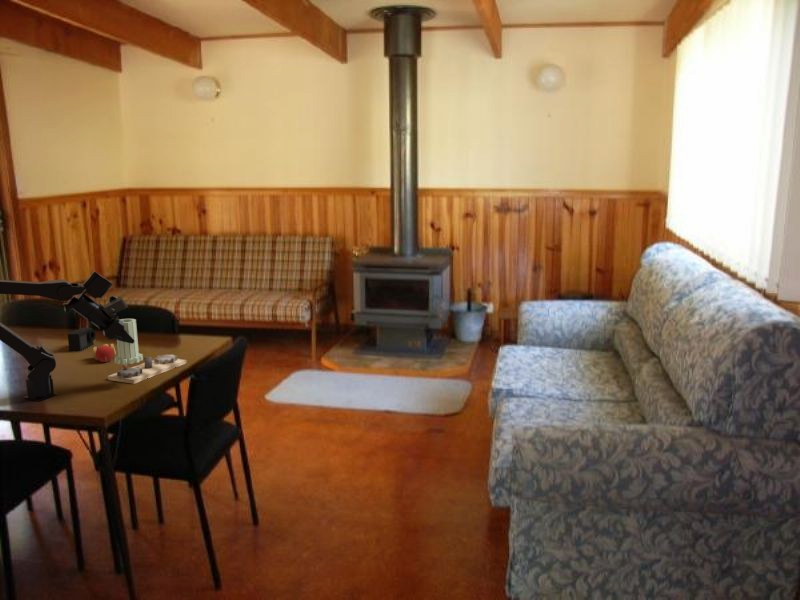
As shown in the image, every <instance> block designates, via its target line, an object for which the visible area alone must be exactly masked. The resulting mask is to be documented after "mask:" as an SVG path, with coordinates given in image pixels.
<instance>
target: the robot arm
mask: <svg viewBox="0 0 800 600" xmlns="http://www.w3.org/2000/svg"><path fill="white" fill-rule="evenodd" d="M113 286H114V283H113V282H111V281H110V280H108V279H107V278H106V277H105V276H104V275H103V276H102V275H101V274H100V273H98V272H96V271H95V270H93V271H92V272H91V274H90V275H89V277H88V278H87V279H86V280H85V281H84V282H83V283H79V282H70V281H69V280H67V279H54V280H52V279H51V280H46V281H27V280H26V281H24V280H10V279H9V280H7V279H6V280H5V279H0V295H12V296H13V295H17V296H36V297H37V296H38V297H43V298H46V299H50V300H55V301H59V302H63V303H62V305H63V307H64V312H65V314H68V313H69V312H70V311H71V310H73V311H75V312H76V313H77V314H79V315H80V316H81V317H83V318H84V319H85V320H86V321H87V322H89V323H91V324H93V325H94V326H95V327H96V328H98V330H100V331H102V333H103V336H104V337H105V338H106V339H107V340H109V341H111V340H115V341H117V340H119V341H123V342H128V343H132V344H133V343H134V342H135V340H134V339H133V338H132V337H131V336H130V335H129V334H128V333H127V332H126V331H125V330H124V323H123V322H122V321H121V319H120V317H119V316H118V315H117V314H118V313H119V312H121V311H122V310H126V309H127V308H128V307H129V306H128V305H127V303H126V302H125V300H124V299H123V297H122V296H114V295H111V296H109V297H108V302H106V304H104V305H103V304H101V303H98V302H96V301H95V300H97V299H99V298H100V299H103V297H104V296H105V294H107V293H108V291H109V290H110V289H111V288H112V287H113ZM87 294H88V295H89V296H88V295H87ZM91 297H92V298H93V299H92V298H91ZM94 299H95V300H94ZM0 341H1V342H2V343H3V344H5V345H6V346H8V347H9V348H10V349H12V350H13V351H14V352H16V353H18V354H19V355H21V357H23V358H24V359H25V361H26V362H27V363H28V364H29V365H28V366H27V367H26V376H27V378H25V384H26V386H25V387H26V393H27V394H26V395H25V396H23V398H24V399H26V400H31V401H36V402H40V401H41V402H42V401H43V400H46V399H49V398H52V397H54V396H57V395H58V393H57V392H55V389H54V380H53V377H52V374H51V373H52V372H54V370H55V368H56V366H57V362H56V361H57V360H56V357H55V355H54V353H53V350H52V349H51V348H48V347H46V345H44V344H43V343H42V342H39V344H38V345H37V344H32V343H30V342H29V341H27V340H26V339H25V338H23V337H22V336H21V335H19V334H18V333H16V332H15V331H13V329H10V328H9V327H8V326H7V325H5V324H4V323H2V322H0Z"/></svg>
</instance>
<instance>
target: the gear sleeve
mask: <svg viewBox="0 0 800 600" xmlns="http://www.w3.org/2000/svg"><path fill="white" fill-rule="evenodd" d="M120 320H121V321H122V322H123V323H124V330H125V331H126V332H127V333H128V334H129V335H130V336H131V337H132V338H133V339H134V340H135V342H134V343H133V344H132V343H128V342H123V341H119V340H116V346H117V355H115V356H114V364H117V365H122V366H123V365H126V364H127V365H128V364H130V365H133V364H135V363H137V364H138V363H140V362H142V361H144V354H143V353H140V352H139V351H140V350H139V341H138V340H139V339H138V329H137V319H135V318H121V319H120Z"/></svg>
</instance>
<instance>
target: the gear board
mask: <svg viewBox="0 0 800 600" xmlns="http://www.w3.org/2000/svg"><path fill="white" fill-rule="evenodd" d="M143 361H144V362H143V363H140V364H138V365H135V366H132V367H131V366H128V363H127V364H126V365H123V364H122V367H123V368H120V369H119V370H117V372H115V373H112V374H110V375H107V380H108V381H115V382H121V383H127V384H133V385H134V384H138V383H140V382H141V381H145V380H147V378H148V379H150V378H152V377H154V376H158V375H161V374H162V373H165V372H168V371H170V370H173V369H175V367H176V368H177V367H181V366H182V365H183V366H184V365H186V364H188V363H187V359H183V358H178V355H175V353H174V354H162V355H156V357H154V358H153V357H152V356H146V357H143Z"/></svg>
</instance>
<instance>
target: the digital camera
mask: <svg viewBox="0 0 800 600" xmlns="http://www.w3.org/2000/svg"><path fill="white" fill-rule="evenodd" d="M96 335H97V334H96V331H95V329H93V327H80V328H78V329H75V330H74V331H72V332H69V333H67V341H68V350H69V351H81V352H83V351H85V350H86V348H87V349H89V348H90V346H91V347H93V346H95V345H94V344H95V342H94V341H95V339H96ZM92 345H93V346H92ZM88 347H89V348H88ZM84 349H85V350H84ZM82 350H83V351H82Z"/></svg>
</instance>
